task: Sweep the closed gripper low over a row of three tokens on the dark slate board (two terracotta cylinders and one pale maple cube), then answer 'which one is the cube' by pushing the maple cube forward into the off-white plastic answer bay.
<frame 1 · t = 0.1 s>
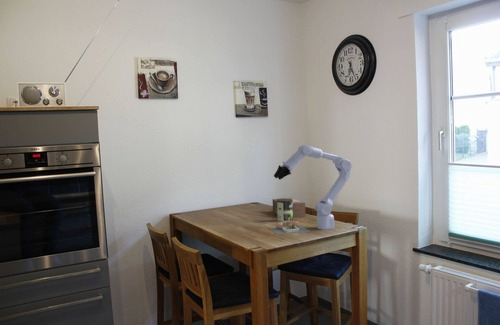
hand: (276, 177, 220), 32 cm above the table, tool tilted 50°, fingers open, 7 cm apart
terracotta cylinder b: (279, 228, 229), point 1 cm above the table, touching slate board
maple cube: (287, 228, 230), point 1 cm above the table, touching slate board
slate board: (289, 231, 226), on the table
terracotta cylinder a: (295, 227, 231), point 1 cm above the table, touching slate board
answer bay: (290, 230, 224), resting on slate board
tissue box cover: (288, 215, 276), on the table
coffee can: (285, 221, 254), on the table
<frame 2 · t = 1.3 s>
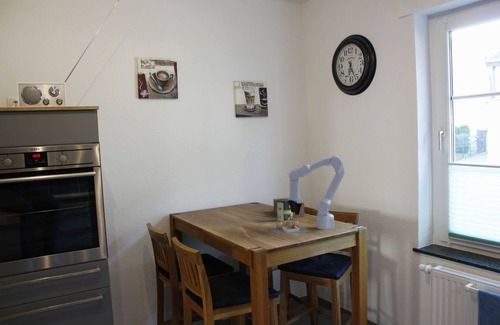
hand: (295, 213, 231), 9 cm above the table, tool pointing down, fingers open, 7 cm apart
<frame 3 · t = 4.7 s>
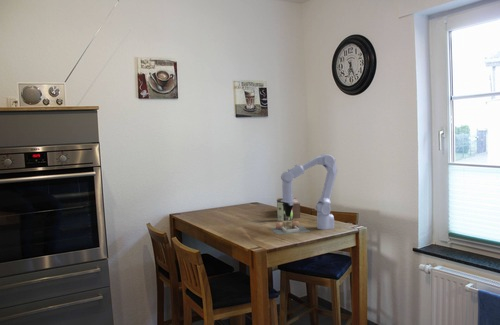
hand: (288, 215, 225), 9 cm above the table, tool pointing down, fingers closed
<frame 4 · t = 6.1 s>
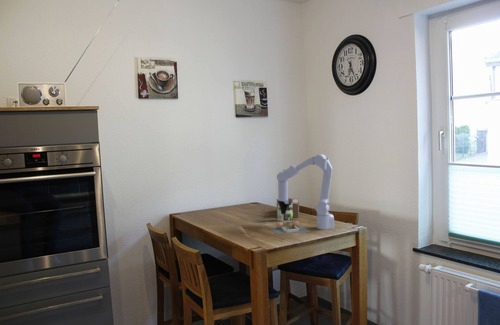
hand: (283, 213, 236), 8 cm above the table, tool pointing down, fingers closed
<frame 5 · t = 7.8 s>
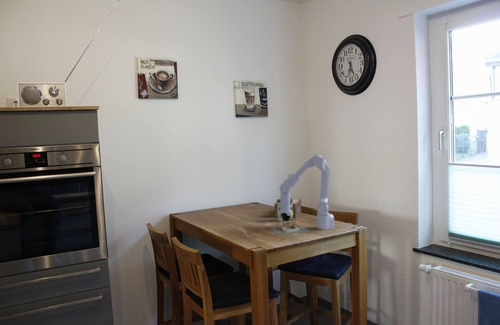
hand: (285, 225, 233), 2 cm above the table, tool pointing down, fingers closed
maple cube: (287, 228, 230), point 1 cm above the table, touching gripper, slate board
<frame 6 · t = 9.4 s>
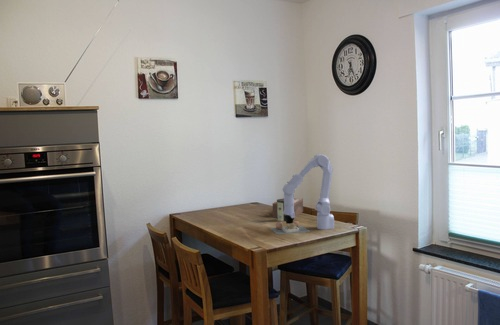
hand: (289, 228, 226), 2 cm above the table, tool pointing down, fingers closed
maple cube: (291, 230, 223), point 1 cm above the table, touching gripper, slate board
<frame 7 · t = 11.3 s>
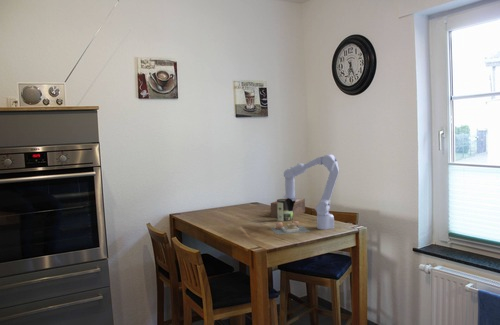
hand: (290, 211, 236), 10 cm above the table, tool pointing down, fingers closed
maple cube: (291, 230, 223), point 1 cm above the table, touching slate board
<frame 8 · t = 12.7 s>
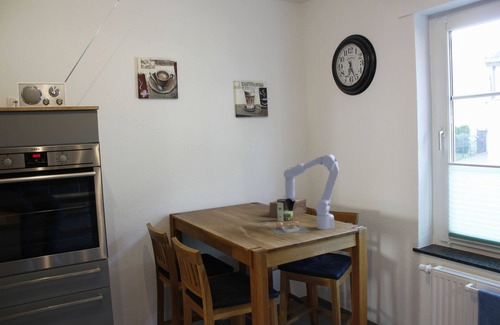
hand: (290, 211, 236), 10 cm above the table, tool pointing down, fingers closed
at the end: maple cube 1.1 cm from the target spot, point 1.0 cm above the table; maple cube tilted 0°; terracotta cylinder a moved 0.0 cm from its start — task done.
